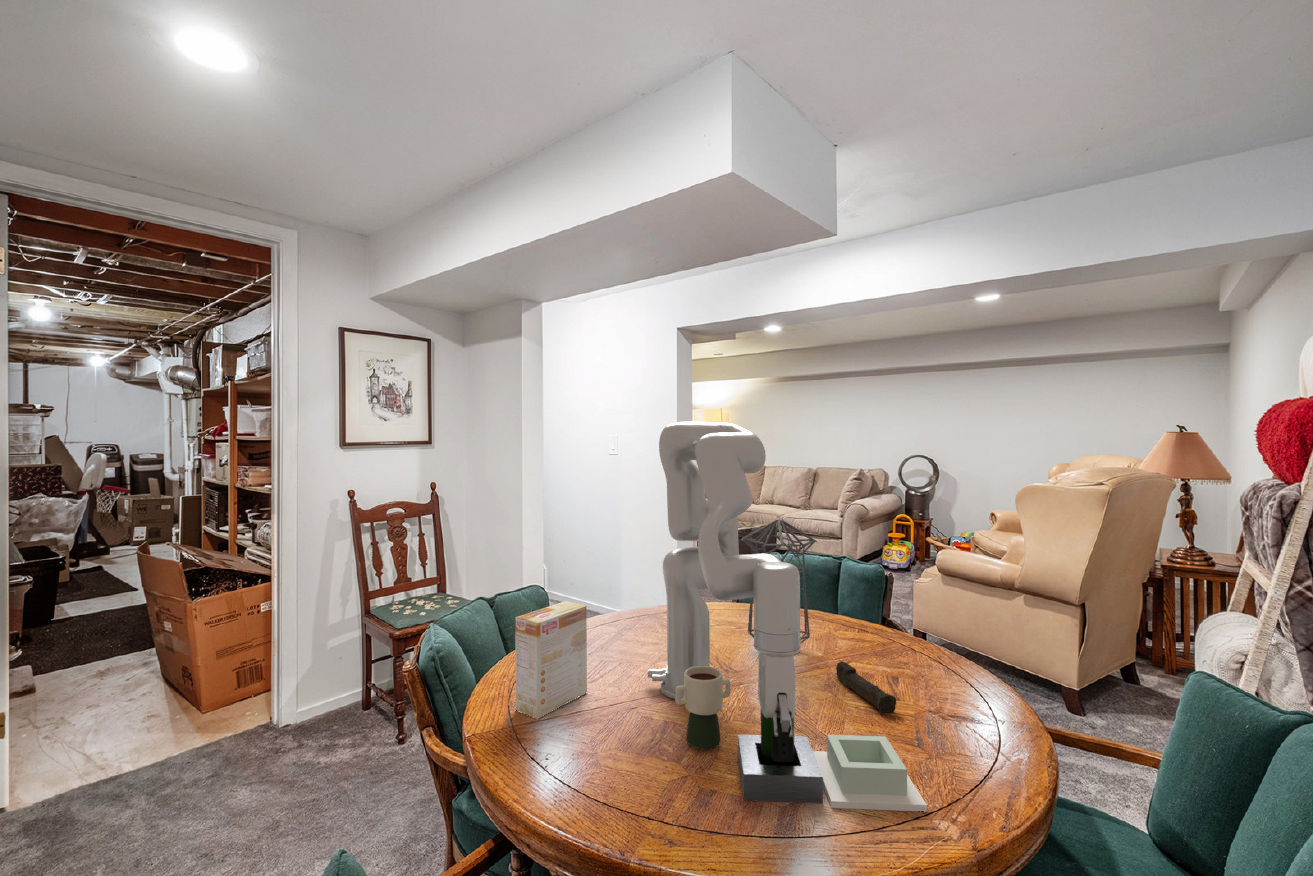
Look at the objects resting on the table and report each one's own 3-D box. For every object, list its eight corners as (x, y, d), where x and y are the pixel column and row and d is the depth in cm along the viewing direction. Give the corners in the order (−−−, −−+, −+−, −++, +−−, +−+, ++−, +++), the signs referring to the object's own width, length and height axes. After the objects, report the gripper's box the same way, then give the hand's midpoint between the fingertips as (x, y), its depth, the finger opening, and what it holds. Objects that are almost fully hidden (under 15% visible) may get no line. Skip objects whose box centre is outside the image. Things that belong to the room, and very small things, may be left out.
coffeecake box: (565, 686, 129) (565, 600, 129) (588, 693, 124) (588, 605, 125) (513, 711, 116) (513, 616, 117) (537, 720, 112) (537, 622, 112)
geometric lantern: (737, 650, 150) (737, 519, 152) (772, 638, 161) (772, 515, 162) (787, 667, 139) (786, 524, 140) (821, 652, 149) (820, 520, 151)
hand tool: (897, 714, 115) (897, 691, 115) (879, 716, 114) (879, 693, 114) (848, 677, 133) (848, 658, 133) (832, 679, 133) (832, 659, 133)
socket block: (743, 800, 87) (743, 774, 87) (738, 757, 99) (737, 734, 99) (823, 803, 86) (822, 777, 86) (807, 759, 98) (807, 736, 98)
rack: (831, 808, 85) (831, 774, 85) (812, 756, 99) (812, 728, 99) (927, 812, 84) (926, 778, 84) (894, 759, 98) (893, 730, 98)
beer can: (759, 785, 91) (758, 710, 91) (763, 767, 96) (762, 696, 96) (793, 791, 89) (792, 715, 89) (795, 772, 94) (795, 700, 94)
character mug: (722, 730, 108) (722, 662, 108) (739, 749, 101) (738, 676, 102) (668, 739, 105) (668, 669, 105) (682, 759, 98) (682, 684, 98)
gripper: (749, 622, 102) (749, 718, 101) (759, 658, 84) (761, 773, 84) (791, 623, 101) (792, 719, 101) (810, 659, 84) (812, 775, 83)
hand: (778, 744), depth 92 cm, fingers open, 9 cm apart
